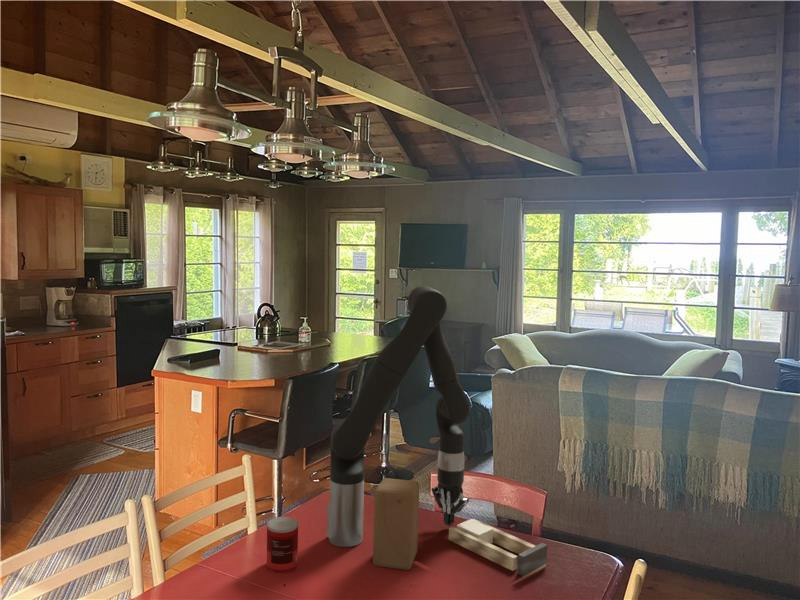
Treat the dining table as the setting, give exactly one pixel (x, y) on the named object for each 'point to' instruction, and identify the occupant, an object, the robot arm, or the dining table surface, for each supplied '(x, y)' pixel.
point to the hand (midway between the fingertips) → (448, 524)
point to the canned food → (282, 544)
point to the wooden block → (395, 523)
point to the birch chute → (528, 554)
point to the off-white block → (477, 530)
